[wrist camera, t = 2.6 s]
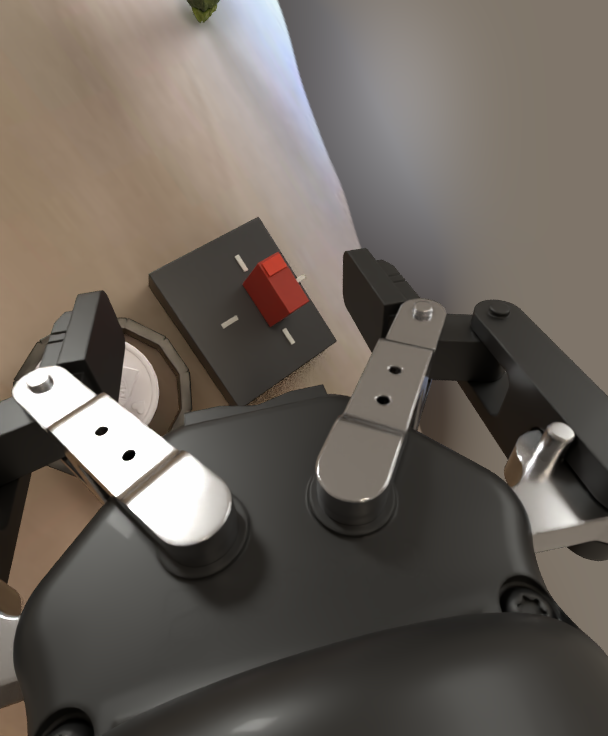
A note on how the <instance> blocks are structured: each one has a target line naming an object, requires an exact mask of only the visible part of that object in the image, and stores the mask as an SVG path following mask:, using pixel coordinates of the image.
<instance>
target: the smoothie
mask: <svg viewBox="0 0 608 736" xmlns="http://www.w3.org/2000/svg"><path fill="white" fill-rule="evenodd" d="M40 362H41V361H40ZM39 365H40V363H39V364H38V366H37V367H36V369H38V368H39ZM36 369H35V370H36ZM158 399H159V386H158V379H157V376H156V374H155V372H154V369H153V367H152V365H151V364H150V362H149V361H148V360H147V358H146V357H145V356H144V355H143V354H142V353H141V352H140V351H139V350H138V349H136V348H135V347H134V346H132V345H131V344H129V343H127V342H125V354H124V362H123V370H122V378H121V385H120V393H119V401H118V403H119V404H120V405H122V406H123V407H124V408H125V409H127V410H128V411H129V412H131V413H132V414H133V415H134V416H136V417H137V418H138V419H139V420H141V421H142V422H143V423H144V424H146V425H148V424H149V423H150V422H151V420H152V418H153V415H154V413H155V411H156V409H157V405H158Z"/></svg>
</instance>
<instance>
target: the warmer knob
mask: <svg viewBox="0 0 608 736" xmlns="http://www.w3.org/2000/svg"><path fill="white" fill-rule="evenodd" d="M243 286H244V288H245V289H246V291H247V292H248V294H249V295H250V297H251V298H252V300H253V301H254V303H255V305H256V306H257V308H258V309H259V311H260V312H261V314H262V315H263V317H264V318H265V320H266V322H267V323H268V325H269V326H270V327H271V326H273V325H275V324H276V323H278V322H279V321H281V320H282V319H284V318H285V317H287V316H288V315H290V314H291V313H293V312H294V311H296V310H297V309H299V308H300V307H302V306H303V305H305V304H306V303H308V302H309V299H308V298H307V296H306V294H305V293H304V291H303V290H302V288H301V287H300V285H299V283H298V282H297V280H296V279H295V277H294V275H293V274H292V272H291V271H290V269H289V267H288V266H287V264H286V263H285V261H284V260H283V258H282V256H281V255H280V253H279V252H277V253H275V254H273V255H271V256H270V257H268V258H266V259H264V260H263V261H261V262H259V263H258V264H257V265H256V267H255V268H254V269H253V271H252V272H251V273H250V275H249V276H248V277H247V279H246V280H245V281H244V283H243Z"/></svg>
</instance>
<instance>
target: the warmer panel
mask: <svg viewBox="0 0 608 736" xmlns="http://www.w3.org/2000/svg"><path fill="white" fill-rule="evenodd" d="M277 252H279V253H280V255H281V256H282V258H283V260H284V261H285V263H286V264H287V266H288V267H289V269H290V271H291V272H292V274H293V275H294V277H295V279H296V280H297V282H298V283H299V285H300V287H301V288H302V290H303V291H304V293H305V294H306V296H307V298H308V299H309V302H308V303H306V304H305V305H303V306H302V307H300V308H299V309H297V310H296V311H294V312H293V313H291V314H290V315H288V316H287V317H285V318H284V319H282V320H281V321H279V322H278V323H276V324H275V325H273V326H271V327H270V326H269V325H268V323H267V322H266V320H265V318H264V317H263V315H262V314H261V312H260V311H259V309H258V308H257V306H256V305H255V303H254V301H253V300H252V298H251V297H250V295H249V294H248V292H247V291H246V289H245V288H244V286H243V283H244V281H245V280H246V279H247V277H248V276H249V275H250V273H251V272H252V271H253V269H254V268H255V267H256V265H257V264H258V263H259V262H261V261H263V260H264V259H266V258H268V257H270V256H271V255H273V254H275V253H277ZM305 278H306V277H305V275H304V274H303V275H302V276H300V277H298V278H297V277H296V275H295V274H294V272H293V271H292V269H291V267H290V266H289V264H288V263H287V261H286V259H285V258H284V256H283V255H282V253H281V252H280V250H279V248H278V247H277V245H276V244H275V242H274V240H273V239H272V237H271V236H270V234H269V232H268V231H267V229H266V228H265V226H264V225H263V223H262V221H261V220H260V218H259V217H257V218H255V219H253V220H251V221H249V222H247V223H245V224H243V225H242V226H240V227H238V228H236V229H234V230H232V231H230V232H228V233H226V234H224V235H222V236H220V237H219V238H217V239H215V240H213V241H211V242H209V243H207V244H205V245H203V246H201V247H199V248H197V249H195V250H194V251H192V252H190V253H188V254H186V255H184V256H182V257H180V258H178V259H176V260H174V261H172V262H171V263H169V264H167V265H165V266H163V267H161V268H159V269H157V270H155V271H153V272H151V273H149V287H150V288H151V290H152V291H153V293H154V294H155V296H156V297H157V299H158V300H159V302H160V303H161V305H162V306H163V308H164V309H165V310H166V312H167V313H168V315H169V316H170V318H171V319H172V321H173V322H174V324H175V325H176V327H177V328H178V330H179V331H180V333H181V334H182V335H183V337H184V338H185V340H186V341H187V343H188V344H189V346H190V347H191V349H192V350H193V352H194V353H195V355H196V356H197V358H198V359H199V360H200V362H201V363H202V365H203V366H204V368H205V369H206V371H207V372H208V374H209V375H210V377H211V378H212V380H213V381H214V383H215V384H216V385H217V387H218V388H219V390H220V391H221V393H222V394H223V396H224V397H225V399H226V400H227V402H228V403H229V405H230V406H246V405H247V404H249V403H250V402H251V401H253V400H254V399H256V398H257V397H258V396H260V395H261V394H263V393H264V392H266V391H267V390H268V389H270V388H271V387H273V386H274V385H275V384H277V383H278V382H280V381H281V380H283V379H284V378H285V377H287V376H288V375H290V374H291V373H292V372H294V371H295V370H297V369H298V368H300V367H301V366H302V365H304V364H305V363H307V362H308V361H309V360H311V359H312V358H314V357H315V356H317V355H318V354H319V353H321V352H322V351H324V350H325V349H327V348H328V347H329V346H331V345H332V344H334V343H335V342H336V339H335V337H334V336H333V334H332V333H331V331H330V329H329V328H328V326H327V325H326V323H325V321H324V320H323V318H322V317H321V315H320V313H319V312H318V310H317V309H316V307H315V306H314V304H313V302H312V301H311V299H310V298H309V296H308V294H307V293H306V291H305V290H304V288H303V286H302V285H301V283H300V281H302V280H304V279H305Z"/></svg>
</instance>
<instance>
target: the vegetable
mask: <svg viewBox="0 0 608 736" xmlns="http://www.w3.org/2000/svg"><path fill="white" fill-rule="evenodd" d="M187 1H188V3H189V5H190V6H191V7H192V11H193V13H194V15H195V16H196V18H197V20H198V22H200V23H201V21H203V23H204V22H205V21H206V20H208V18H209V17H210V16H211V15H212V13H213V12H214V11H216V8H217V3H218V2H219V1H220V0H187Z"/></svg>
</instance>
